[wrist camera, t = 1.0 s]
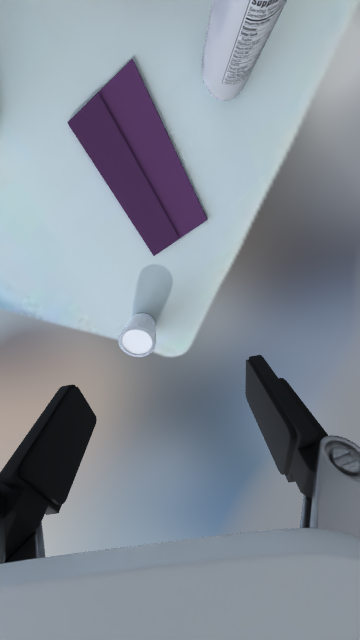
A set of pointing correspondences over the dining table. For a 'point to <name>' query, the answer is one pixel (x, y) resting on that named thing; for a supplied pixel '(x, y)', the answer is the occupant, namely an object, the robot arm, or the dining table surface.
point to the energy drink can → (236, 42)
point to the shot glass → (138, 336)
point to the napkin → (138, 160)
